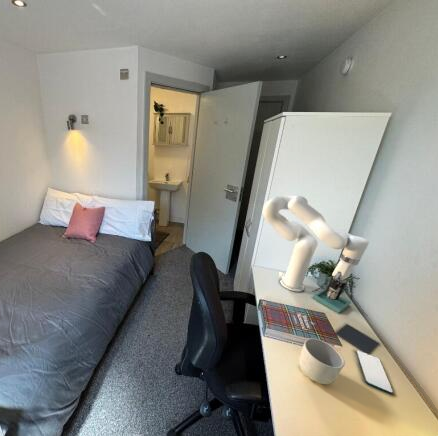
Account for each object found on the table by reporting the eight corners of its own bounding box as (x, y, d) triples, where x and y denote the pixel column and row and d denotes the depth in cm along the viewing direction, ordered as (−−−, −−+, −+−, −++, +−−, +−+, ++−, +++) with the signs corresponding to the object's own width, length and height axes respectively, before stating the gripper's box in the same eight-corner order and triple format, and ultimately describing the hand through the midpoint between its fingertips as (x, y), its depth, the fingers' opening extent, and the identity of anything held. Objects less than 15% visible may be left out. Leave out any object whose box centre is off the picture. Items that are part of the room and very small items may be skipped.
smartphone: (393, 395, 83) (378, 359, 96) (394, 393, 83) (379, 358, 96) (365, 383, 87) (354, 350, 100) (366, 381, 86) (355, 349, 99)
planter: (314, 355, 96) (323, 336, 92) (342, 386, 85) (353, 366, 81) (289, 358, 94) (296, 339, 90) (313, 390, 83) (323, 370, 79)
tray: (313, 298, 131) (314, 294, 130) (324, 291, 137) (325, 288, 136) (338, 313, 121) (340, 309, 120) (349, 305, 127) (350, 302, 126)
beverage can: (333, 293, 131) (341, 276, 127) (341, 301, 125) (350, 283, 121) (321, 291, 132) (329, 274, 127) (328, 299, 126) (337, 282, 121)
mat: (335, 333, 108) (335, 332, 108) (346, 324, 114) (347, 323, 114) (367, 354, 98) (368, 353, 98) (378, 343, 104) (378, 342, 104)
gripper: (348, 252, 126) (335, 278, 133) (333, 258, 118) (320, 286, 125) (365, 259, 120) (351, 286, 127) (351, 266, 112) (336, 295, 119)
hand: (336, 286), depth 126 cm, fingers closed on beverage can, 6 cm apart
